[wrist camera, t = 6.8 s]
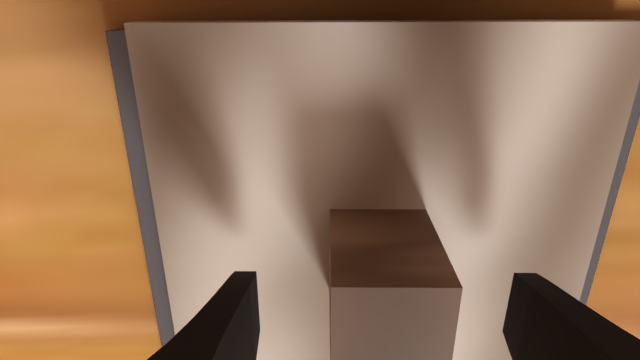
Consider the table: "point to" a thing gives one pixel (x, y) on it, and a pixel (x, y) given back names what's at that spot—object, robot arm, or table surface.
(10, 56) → the table surface
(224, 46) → the lid
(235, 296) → the robot arm
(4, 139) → the table surface
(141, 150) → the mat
